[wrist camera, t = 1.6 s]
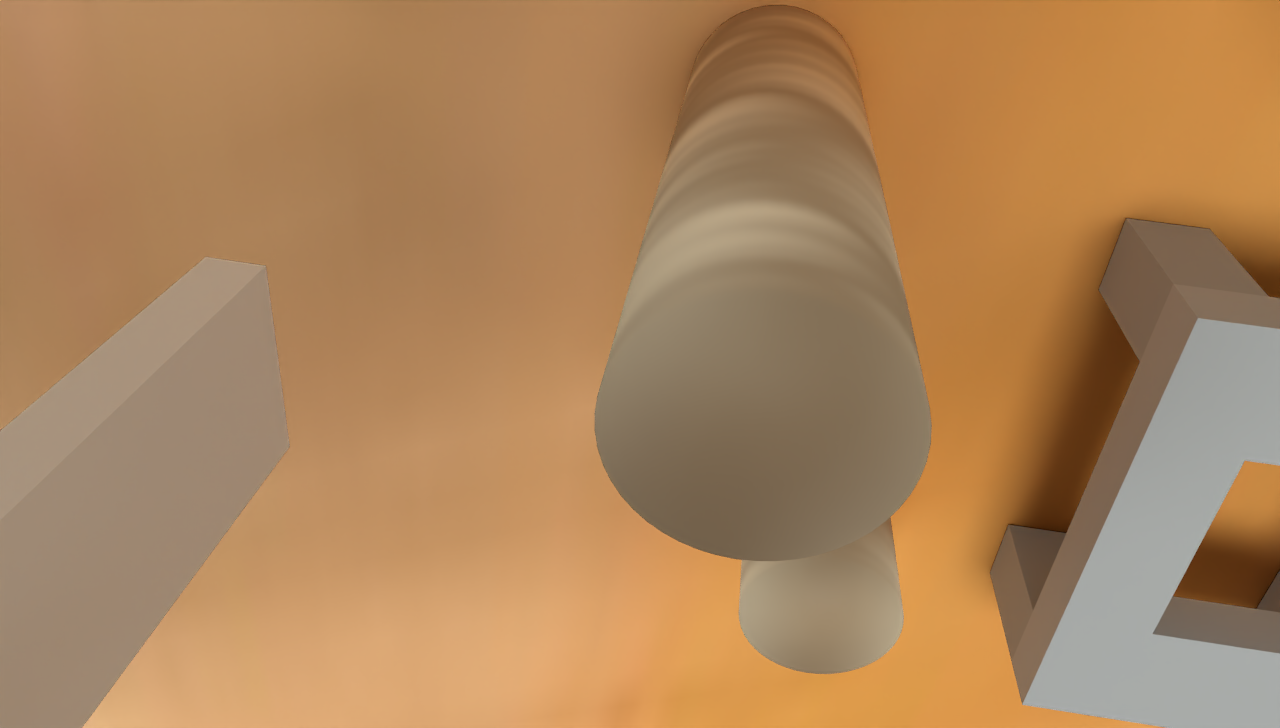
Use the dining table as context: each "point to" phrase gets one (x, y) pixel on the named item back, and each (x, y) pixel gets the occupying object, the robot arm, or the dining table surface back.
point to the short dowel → (825, 606)
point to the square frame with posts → (1158, 507)
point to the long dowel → (767, 312)
